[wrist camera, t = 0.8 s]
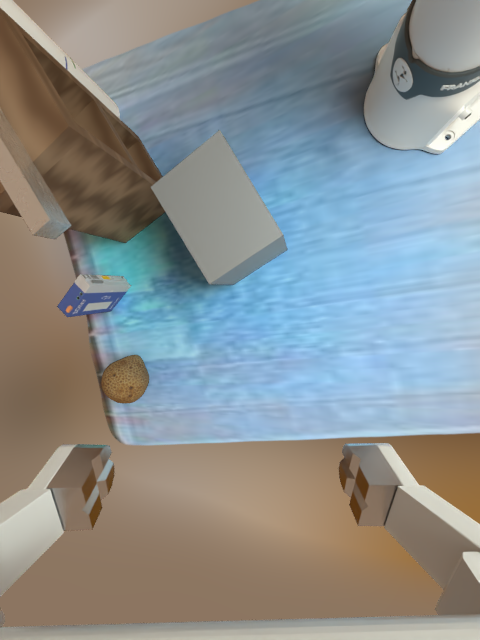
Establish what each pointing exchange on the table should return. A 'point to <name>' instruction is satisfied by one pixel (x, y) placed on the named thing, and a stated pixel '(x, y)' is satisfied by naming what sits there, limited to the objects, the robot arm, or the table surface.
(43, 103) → the walnut shelf
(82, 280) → the walkman
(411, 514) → the robot arm
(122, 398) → the natural sponge
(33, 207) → the tan bar
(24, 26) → the cylindrical container
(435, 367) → the table surface
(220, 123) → the table surface
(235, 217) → the block
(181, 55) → the table surface
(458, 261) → the table surface
